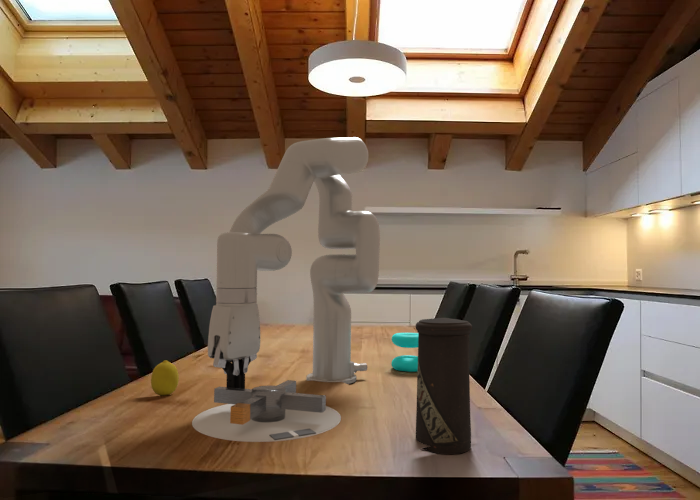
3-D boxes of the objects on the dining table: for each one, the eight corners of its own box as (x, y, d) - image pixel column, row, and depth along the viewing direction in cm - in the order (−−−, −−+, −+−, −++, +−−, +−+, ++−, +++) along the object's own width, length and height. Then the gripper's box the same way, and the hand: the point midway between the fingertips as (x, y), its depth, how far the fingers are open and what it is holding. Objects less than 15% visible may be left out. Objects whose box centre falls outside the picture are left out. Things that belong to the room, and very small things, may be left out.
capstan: (244, 399, 103) (244, 374, 104) (342, 408, 97) (342, 381, 98) (178, 430, 82) (179, 399, 83) (298, 444, 76) (298, 410, 77)
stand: (304, 399, 108) (304, 393, 108) (368, 432, 85) (368, 425, 86) (177, 414, 95) (178, 407, 95) (214, 459, 73) (214, 450, 73)
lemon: (169, 402, 104) (170, 363, 104) (144, 400, 105) (146, 361, 105) (183, 396, 109) (184, 358, 110) (159, 394, 110) (161, 357, 111)
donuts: (427, 332, 148) (425, 336, 139) (427, 367, 148) (425, 373, 138) (394, 331, 150) (389, 335, 141) (393, 365, 150) (389, 371, 140)
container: (409, 437, 83) (410, 315, 84) (463, 436, 84) (463, 315, 85) (421, 456, 75) (422, 320, 76) (480, 455, 76) (480, 320, 76)
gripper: (247, 295, 104) (246, 384, 104) (192, 298, 91) (191, 401, 91) (276, 296, 101) (276, 389, 100) (223, 300, 88) (222, 407, 87)
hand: (235, 394), depth 96 cm, fingers closed
